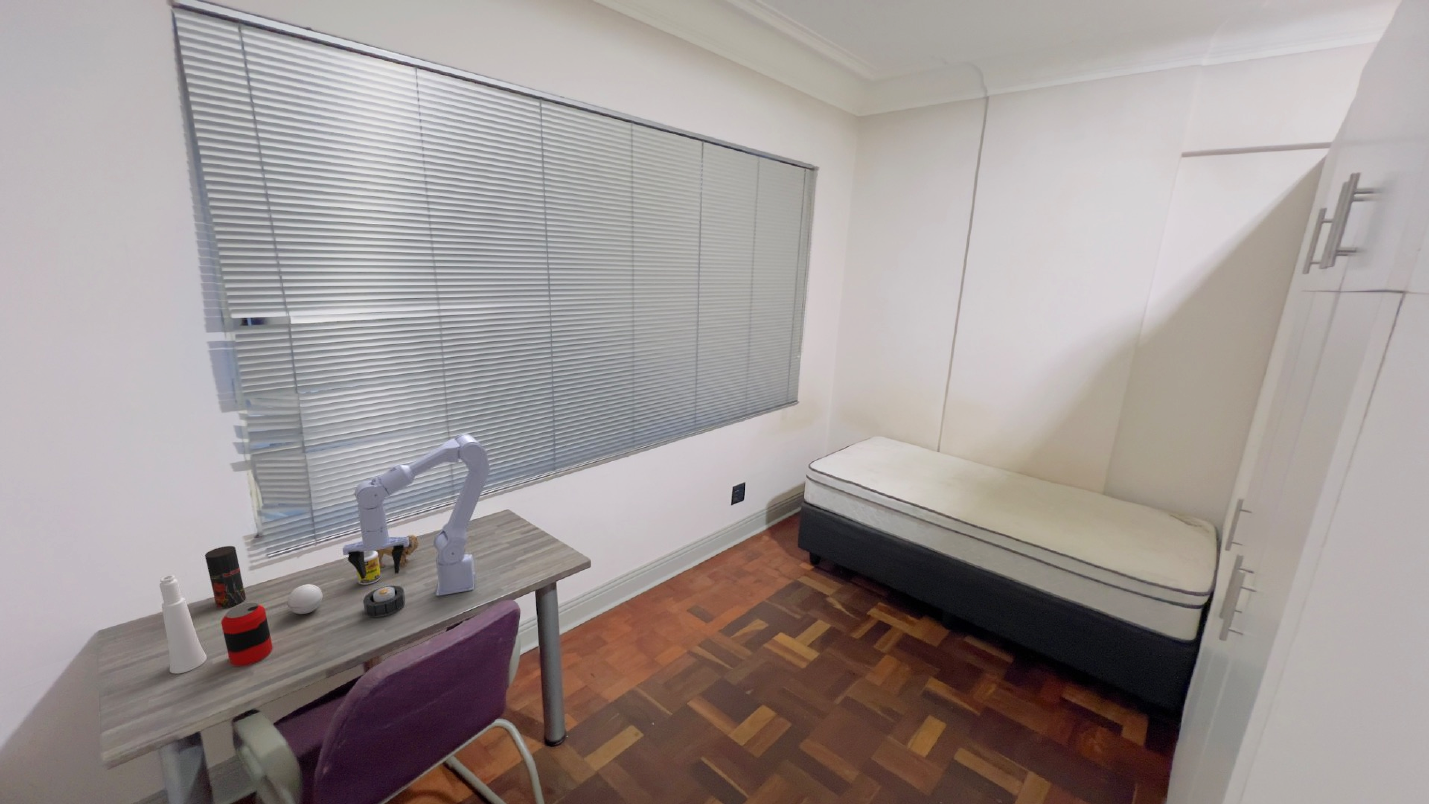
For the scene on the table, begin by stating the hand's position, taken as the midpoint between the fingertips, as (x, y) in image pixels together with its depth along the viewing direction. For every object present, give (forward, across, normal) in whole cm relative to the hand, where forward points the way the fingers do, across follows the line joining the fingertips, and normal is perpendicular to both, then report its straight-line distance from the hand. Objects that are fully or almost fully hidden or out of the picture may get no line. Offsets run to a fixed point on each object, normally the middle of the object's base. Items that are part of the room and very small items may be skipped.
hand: (380, 574), depth 140 cm
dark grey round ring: (+10, 0, 0) cm, 10 cm away
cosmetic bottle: (+10, +37, +10) cm, 40 cm away
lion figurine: (+10, +2, -24) cm, 26 cm away
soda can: (+10, +25, +11) cm, 29 cm away
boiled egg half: (+9, 0, 0) cm, 9 cm away
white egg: (+10, +20, -4) cm, 23 cm away
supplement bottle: (+10, +7, -16) cm, 20 cm away
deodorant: (+10, +39, -16) cm, 43 cm away
